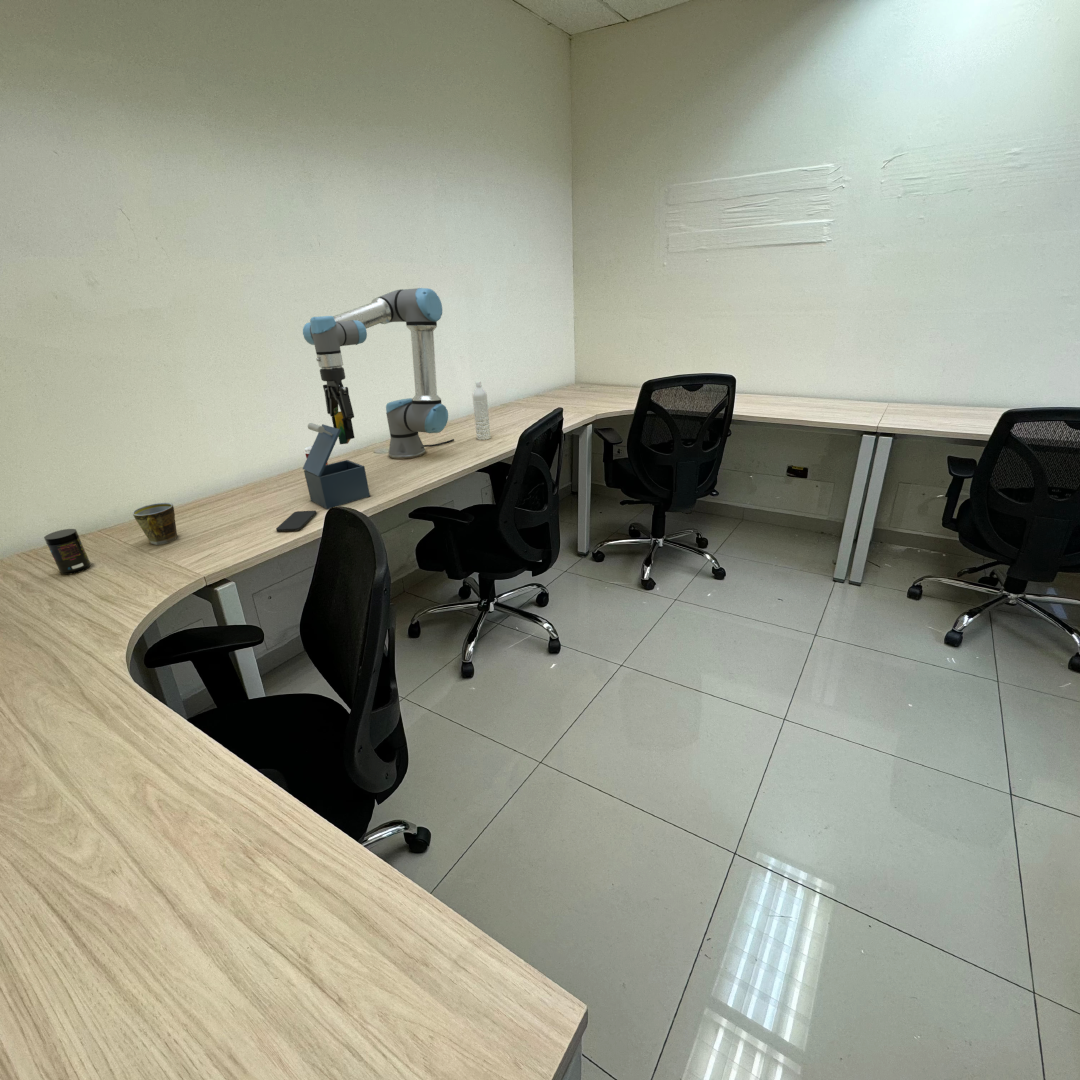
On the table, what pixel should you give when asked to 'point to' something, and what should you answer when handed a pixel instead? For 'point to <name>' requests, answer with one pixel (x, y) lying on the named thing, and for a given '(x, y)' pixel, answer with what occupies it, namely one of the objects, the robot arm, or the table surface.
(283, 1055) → the table surface
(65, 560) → the supplement container
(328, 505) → the chest
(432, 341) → the robot arm
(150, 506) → the ceramic cup
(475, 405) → the water bottle
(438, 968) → the table surface
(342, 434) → the crayon box
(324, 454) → the lid
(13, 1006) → the table surface
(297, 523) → the phone
